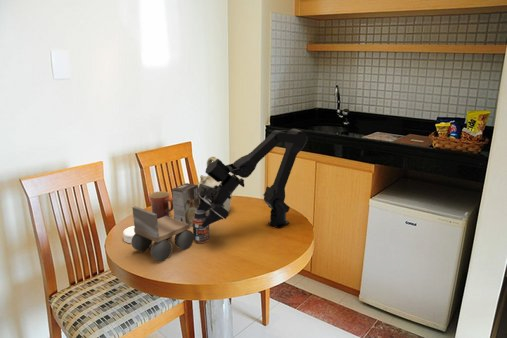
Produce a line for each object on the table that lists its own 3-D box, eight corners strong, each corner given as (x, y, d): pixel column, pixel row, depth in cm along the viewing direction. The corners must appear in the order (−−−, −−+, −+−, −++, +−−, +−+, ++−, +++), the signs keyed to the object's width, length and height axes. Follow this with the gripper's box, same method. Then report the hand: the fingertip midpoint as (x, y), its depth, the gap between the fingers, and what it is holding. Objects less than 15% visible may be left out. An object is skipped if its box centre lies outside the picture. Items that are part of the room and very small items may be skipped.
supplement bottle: (199, 245, 141) (197, 216, 138) (190, 239, 146) (188, 211, 143) (212, 240, 145) (211, 211, 142) (203, 235, 149) (202, 207, 146)
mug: (146, 218, 166) (144, 196, 163) (161, 211, 173) (159, 190, 170) (167, 224, 160) (164, 200, 157) (181, 217, 167) (179, 194, 164)
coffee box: (189, 218, 165) (186, 182, 161) (201, 221, 162) (198, 184, 158) (174, 226, 158) (171, 188, 154) (186, 229, 155) (183, 191, 150)
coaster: (124, 234, 152) (123, 226, 151) (150, 231, 154) (150, 223, 153) (123, 245, 143) (121, 237, 142) (151, 242, 145) (150, 233, 144)
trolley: (170, 235, 150) (167, 194, 145) (194, 245, 141) (191, 201, 137) (132, 252, 137) (127, 208, 132) (156, 264, 129) (151, 217, 124)
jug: (225, 203, 182) (223, 151, 175) (238, 214, 168) (235, 158, 161) (193, 208, 176) (190, 155, 169) (203, 221, 162) (200, 163, 155)
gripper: (202, 170, 149) (176, 202, 148) (218, 183, 132) (189, 219, 131) (223, 186, 154) (197, 217, 153) (240, 201, 137) (212, 236, 136)
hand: (198, 221), depth 143 cm, fingers open, 9 cm apart
